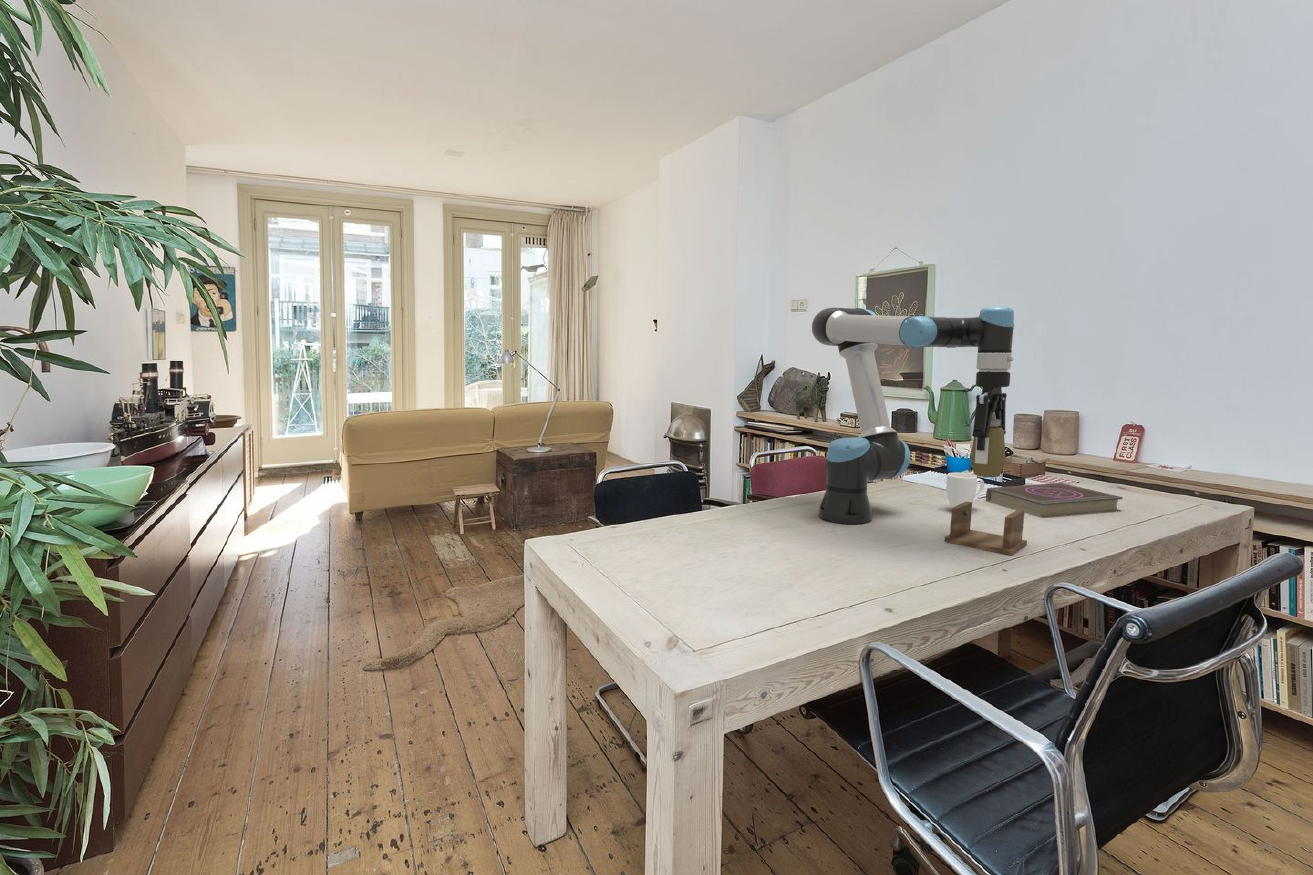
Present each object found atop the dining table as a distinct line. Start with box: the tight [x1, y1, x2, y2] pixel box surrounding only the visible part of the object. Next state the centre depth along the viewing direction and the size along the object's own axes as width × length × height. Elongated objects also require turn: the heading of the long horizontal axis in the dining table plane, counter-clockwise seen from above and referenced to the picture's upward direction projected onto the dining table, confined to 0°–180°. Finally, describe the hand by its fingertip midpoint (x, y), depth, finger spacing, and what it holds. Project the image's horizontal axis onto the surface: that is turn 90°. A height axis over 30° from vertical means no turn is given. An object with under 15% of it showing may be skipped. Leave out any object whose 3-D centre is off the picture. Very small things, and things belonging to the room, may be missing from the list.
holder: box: [944, 501, 1028, 556], centre depth 164 cm, size 16×12×9 cm
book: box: [985, 482, 1123, 519], centre depth 204 cm, size 30×22×5 cm
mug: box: [946, 472, 985, 510], centre depth 196 cm, size 12×8×11 cm
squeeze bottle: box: [969, 412, 1007, 478], centre depth 160 cm, size 8×8×18 cm
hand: (987, 461), depth 161 cm, fingers closed on squeeze bottle, 8 cm apart
